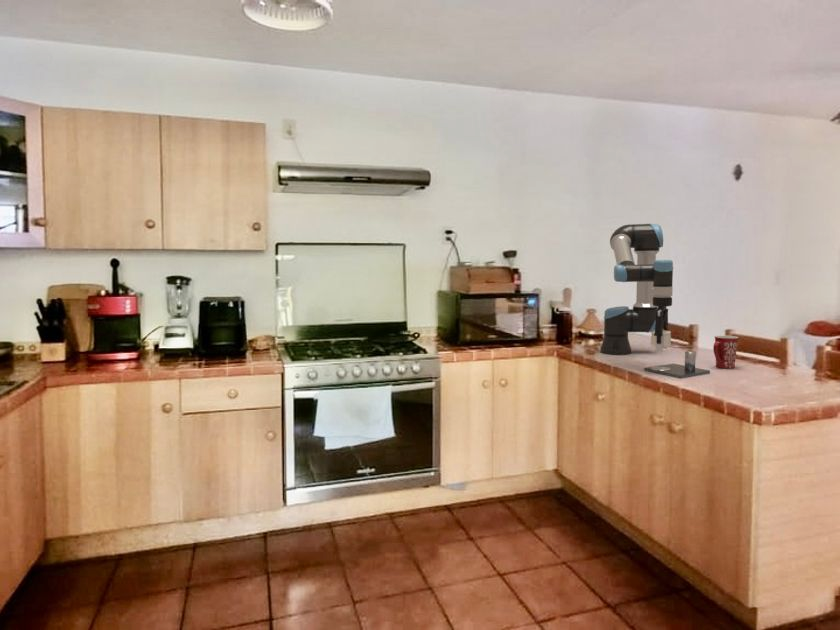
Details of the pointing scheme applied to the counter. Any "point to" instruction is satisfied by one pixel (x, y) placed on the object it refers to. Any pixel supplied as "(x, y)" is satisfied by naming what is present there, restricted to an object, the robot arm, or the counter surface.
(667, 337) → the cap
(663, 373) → the post base
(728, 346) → the mug
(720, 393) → the counter surface
